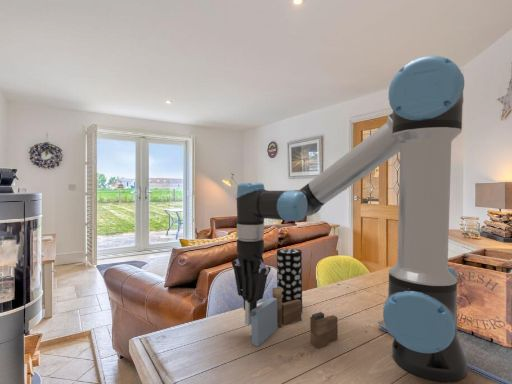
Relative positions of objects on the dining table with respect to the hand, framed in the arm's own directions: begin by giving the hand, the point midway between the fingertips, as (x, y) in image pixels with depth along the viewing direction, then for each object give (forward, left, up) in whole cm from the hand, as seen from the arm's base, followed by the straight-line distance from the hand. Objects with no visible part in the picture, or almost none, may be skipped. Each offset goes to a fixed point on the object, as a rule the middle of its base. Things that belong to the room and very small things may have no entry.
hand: (250, 322), depth 83 cm
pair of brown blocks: (-6, -14, -4) cm, 16 cm away
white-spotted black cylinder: (+8, -20, -4) cm, 22 cm away
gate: (-3, -3, -4) cm, 5 cm away
